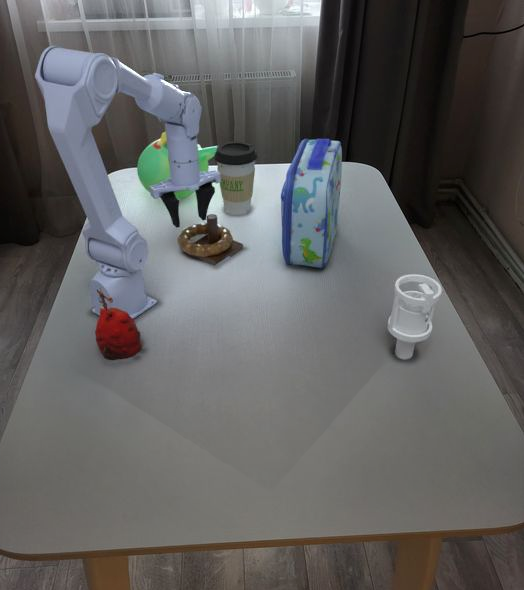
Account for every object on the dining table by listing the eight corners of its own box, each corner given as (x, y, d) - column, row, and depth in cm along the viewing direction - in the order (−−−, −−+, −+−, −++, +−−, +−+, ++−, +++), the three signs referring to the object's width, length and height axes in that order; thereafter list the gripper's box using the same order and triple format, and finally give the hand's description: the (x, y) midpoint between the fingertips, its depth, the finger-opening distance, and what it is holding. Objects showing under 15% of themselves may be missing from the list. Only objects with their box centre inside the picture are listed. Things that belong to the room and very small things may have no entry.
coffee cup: (211, 204, 137) (207, 144, 127) (247, 197, 140) (246, 137, 130) (226, 222, 130) (223, 159, 120) (264, 214, 133) (264, 152, 124)
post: (216, 266, 116) (214, 231, 111) (184, 253, 120) (181, 218, 115) (243, 248, 121) (242, 214, 116) (212, 236, 126) (209, 202, 120)
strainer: (393, 370, 92) (409, 297, 82) (376, 344, 97) (388, 271, 87) (432, 363, 94) (451, 289, 84) (412, 337, 99) (429, 265, 89)
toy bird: (180, 174, 150) (174, 118, 141) (226, 192, 142) (223, 134, 133) (128, 197, 140) (118, 139, 130) (175, 218, 132) (168, 157, 122)
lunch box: (295, 213, 133) (298, 125, 120) (339, 218, 132) (348, 128, 118) (275, 273, 114) (276, 175, 100) (327, 278, 113) (336, 180, 99)
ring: (222, 261, 115) (222, 251, 114) (170, 254, 117) (169, 244, 116) (239, 234, 124) (238, 225, 122) (190, 228, 126) (189, 218, 124)
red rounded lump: (150, 344, 97) (137, 272, 87) (130, 371, 92) (114, 297, 82) (112, 335, 99) (96, 263, 89) (90, 360, 94) (70, 287, 84)
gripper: (156, 173, 101) (165, 239, 110) (226, 156, 107) (229, 221, 116) (141, 160, 106) (151, 224, 115) (209, 145, 111) (213, 207, 120)
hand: (189, 221), depth 115 cm, fingers open, 5 cm apart
